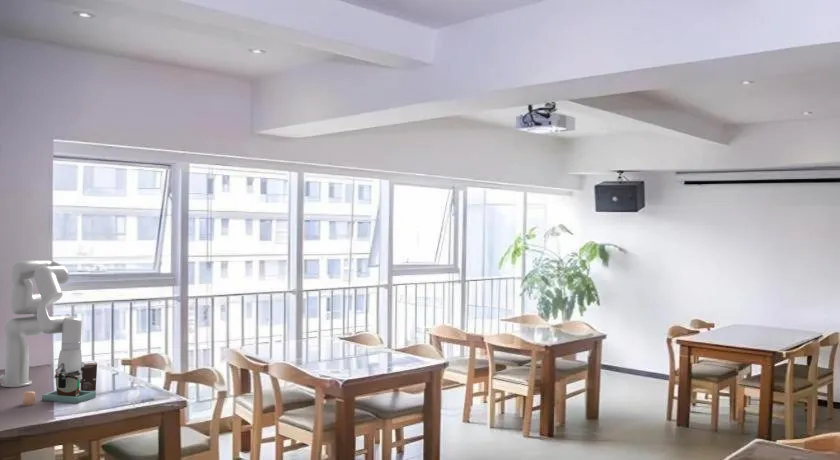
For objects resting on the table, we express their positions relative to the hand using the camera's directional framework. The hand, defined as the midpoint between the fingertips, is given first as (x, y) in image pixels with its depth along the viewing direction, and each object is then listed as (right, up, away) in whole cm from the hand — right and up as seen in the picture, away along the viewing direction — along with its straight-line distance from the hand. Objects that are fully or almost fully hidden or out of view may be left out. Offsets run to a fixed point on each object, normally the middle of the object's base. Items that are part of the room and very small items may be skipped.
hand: (69, 385), depth 298 cm
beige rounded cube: (-11, -5, -11) cm, 17 cm away
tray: (0, -6, 0) cm, 6 cm away
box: (0, -6, +17) cm, 18 cm away
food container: (0, -5, +2) cm, 5 cm away
